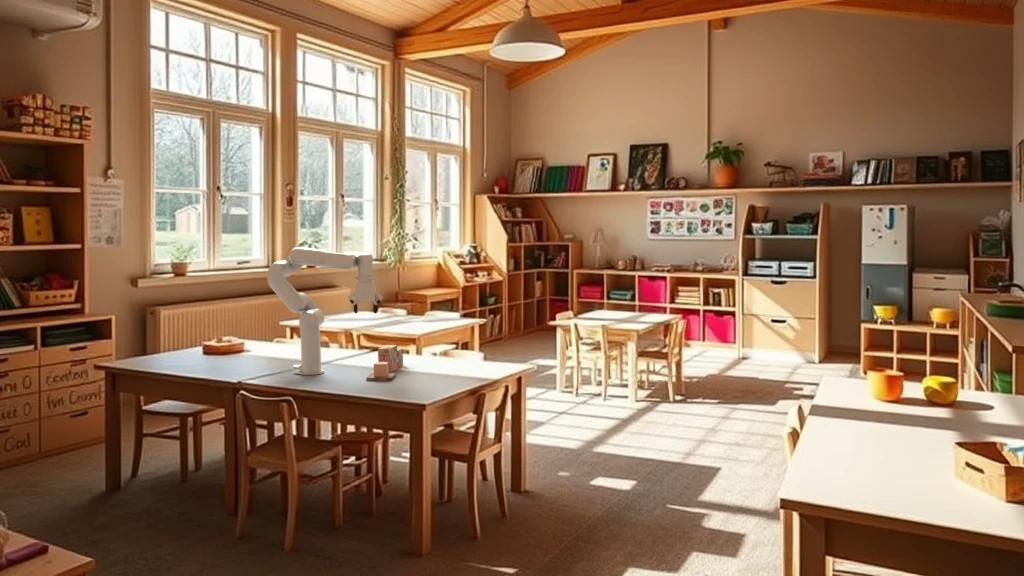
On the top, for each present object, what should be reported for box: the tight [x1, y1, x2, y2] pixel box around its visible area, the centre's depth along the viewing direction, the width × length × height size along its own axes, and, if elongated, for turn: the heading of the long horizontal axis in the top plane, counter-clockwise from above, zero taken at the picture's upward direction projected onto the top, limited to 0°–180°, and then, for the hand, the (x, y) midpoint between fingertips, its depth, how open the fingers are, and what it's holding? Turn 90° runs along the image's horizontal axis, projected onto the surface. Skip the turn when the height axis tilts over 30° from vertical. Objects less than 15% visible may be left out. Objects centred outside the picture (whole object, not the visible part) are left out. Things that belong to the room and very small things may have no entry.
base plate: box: [365, 372, 397, 382], centre depth 397 cm, size 12×12×6 cm
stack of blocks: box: [377, 344, 404, 373], centre depth 424 cm, size 21×6×12 cm, turn 170°
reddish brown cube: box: [373, 361, 389, 377], centre depth 397 cm, size 6×6×6 cm
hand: (365, 313), depth 409 cm, fingers open, 9 cm apart
